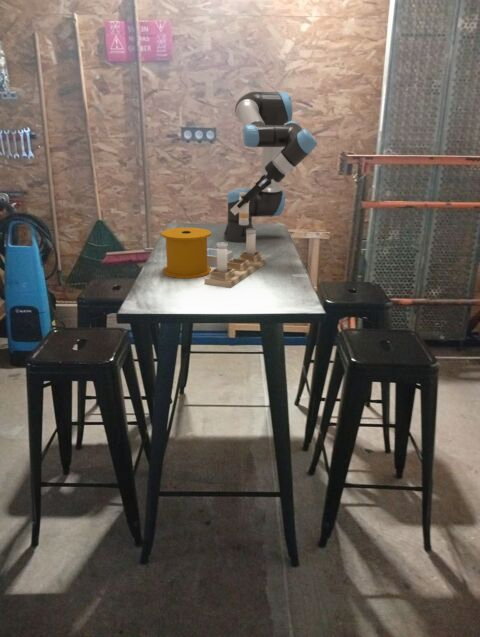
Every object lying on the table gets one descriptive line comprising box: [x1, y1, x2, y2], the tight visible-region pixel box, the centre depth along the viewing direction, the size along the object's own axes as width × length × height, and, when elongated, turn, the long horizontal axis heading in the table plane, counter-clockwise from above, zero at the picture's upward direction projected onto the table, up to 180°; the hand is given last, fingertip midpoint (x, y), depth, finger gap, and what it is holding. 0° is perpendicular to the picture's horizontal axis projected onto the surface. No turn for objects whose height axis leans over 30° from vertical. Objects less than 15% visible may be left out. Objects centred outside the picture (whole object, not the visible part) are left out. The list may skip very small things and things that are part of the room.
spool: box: [161, 227, 212, 279], centre depth 179 cm, size 18×18×15 cm
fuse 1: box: [216, 241, 229, 273], centre depth 167 cm, size 4×4×12 cm
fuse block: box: [204, 250, 267, 288], centre depth 180 cm, size 34×10×4 cm, turn 156°
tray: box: [207, 247, 234, 268], centre depth 193 cm, size 11×11×4 cm
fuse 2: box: [245, 227, 257, 256], centre depth 189 cm, size 4×4×12 cm
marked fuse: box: [239, 191, 249, 225], centre depth 182 cm, size 4×4×12 cm
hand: (234, 211), depth 183 cm, fingers open, 4 cm apart
